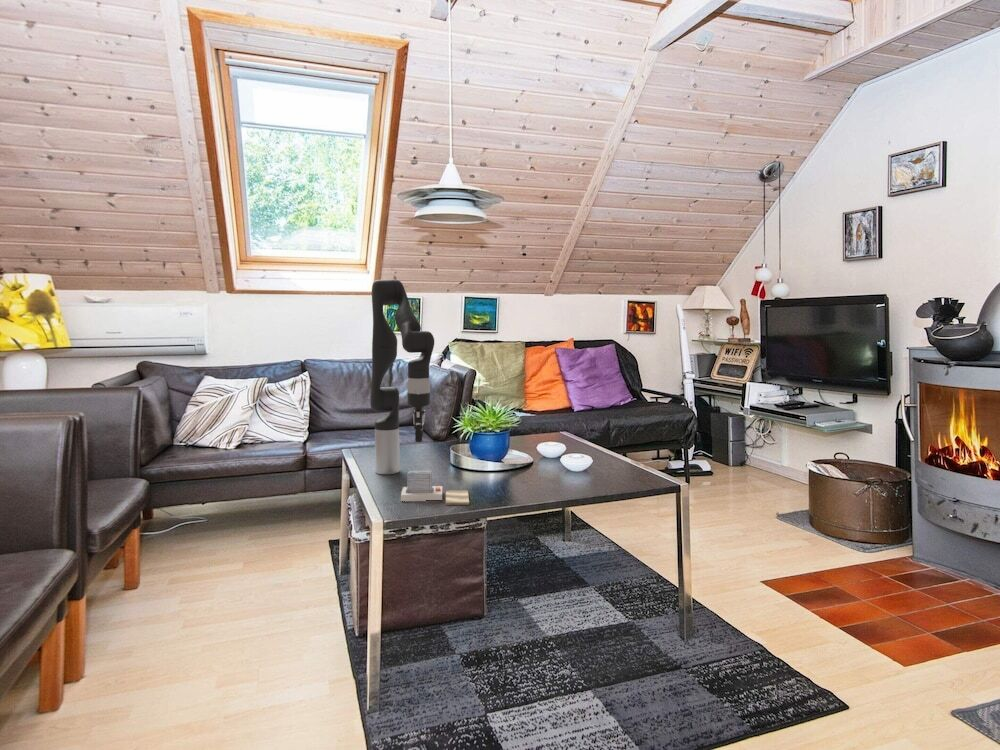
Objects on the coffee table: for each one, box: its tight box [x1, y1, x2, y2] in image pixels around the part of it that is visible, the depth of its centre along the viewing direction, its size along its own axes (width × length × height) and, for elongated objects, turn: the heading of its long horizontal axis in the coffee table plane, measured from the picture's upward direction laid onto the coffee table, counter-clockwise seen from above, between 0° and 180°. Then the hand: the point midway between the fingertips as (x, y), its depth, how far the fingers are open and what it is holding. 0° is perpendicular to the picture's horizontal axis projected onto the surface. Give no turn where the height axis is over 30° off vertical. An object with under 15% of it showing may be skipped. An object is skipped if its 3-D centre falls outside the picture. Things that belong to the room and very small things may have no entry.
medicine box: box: [406, 470, 433, 493], centre depth 218 cm, size 8×4×9 cm, turn 90°
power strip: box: [400, 483, 443, 502], centre depth 223 cm, size 18×14×3 cm
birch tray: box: [445, 489, 470, 506], centre depth 216 cm, size 14×8×1 cm, turn 5°
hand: (419, 439), depth 216 cm, fingers open, 8 cm apart
